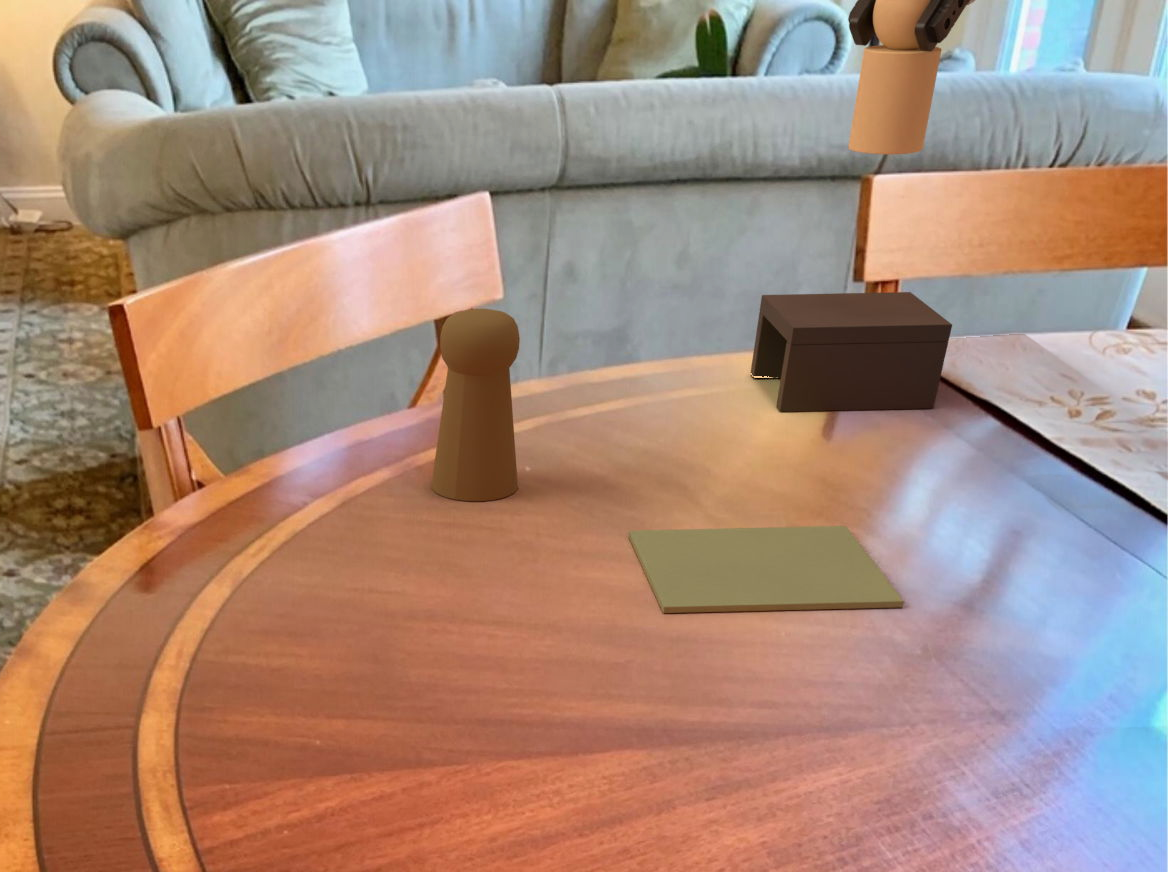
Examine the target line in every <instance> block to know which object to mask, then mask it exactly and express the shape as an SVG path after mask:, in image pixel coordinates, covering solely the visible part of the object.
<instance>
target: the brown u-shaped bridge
mask: <svg viewBox="0 0 1168 872" xmlns="http://www.w3.org/2000/svg"><path fill="white" fill-rule="evenodd" d="M952 328H953V324H952V323H951V322H950V321H948V320H947V319H946V318H945V317H943V316H942V315H941V314H939V312H937V311H936V310H934V309H933V308H932V307H930V306H929V305H928V304H927V303H925V302H924V301H922V300H921V299H920V297H918V296H916V295H915V294H914V293H912V292H911V291H900V292H899V291H896V292H895V291H894V292H891V291H890V292H847V293H846V292H844V293H841V292H839V293H798V294H797V293H795V294H794V293H791V294H762V295H761V298H760V304H759V312H758V320H757V327H756V333H755V338H754V339H755V340H754V346H753V354H752V360H751V366H750V373H752V375H753V376H762V377H764V376H767V377H768V376H769V377H781V378H780V381H779V388H778V394H777V400H776V405H775V408H776V409H777V410H778V411H779V412H781V413H788V412H789V413H790V412H793V413H794V412H831V411H833V412H834V411H838V412H839V411H875V410H876V411H877V410H879V411H880V410H881V411H883V410H886V411H887V410H927V409H928V410H929V409H934V408H935V403H936V398H937V395H938V389H939V386H940V381H941V378H942V373H943V369H944V364H945V359H946V355H947V350H948V347H949V341H950V338H951V332H952Z"/></svg>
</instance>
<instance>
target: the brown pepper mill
mask: <svg viewBox="0 0 1168 872" xmlns="http://www.w3.org/2000/svg"><path fill="white" fill-rule="evenodd" d="M439 337H440V338H439V341H440V342H439V349H440V354H441V358H442V360H443V362H444V364H445V365H446V367H447V372H446V379H445V387H444V393H443V401H442V406H441V407H442V408H441V414H440V420H439V428H438V435H437V441H436V449H435V457H434V464H433V471H432V477H431V484H430V485H431V487H430V488H431V490H432V491H433V492H434V493H436V494H438V495H439V496H441V497H444V498H447V499H451V500H455V501H465V502H487V501H495V500H501V499H503V498H507V497H509V496H512V495H513V494H515V493H516V492H517V491H518V489H519V483H518V482H519V481H518V470H517V455H516V442H515V441H516V440H515V427H514V414H513V399H512V383H511V372H510V369H511V367H512V365H514V363H515V361H516V359H517V357H518V354H519V350H520V338H521V337H520V333H519V327H518V324H517V322H516V320H515V318H514V317H512V316H511V315H510V314H508V313H506V312H505V311H501V310H497V309H491V308H469V309H464V310H459V311H456V312H454V313H452V314H451V315H449V317H447V318H446V319H445V321H444V323H443V325H442V326H441V331H440V335H439Z"/></svg>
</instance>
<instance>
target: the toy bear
mask: <svg viewBox="0 0 1168 872" xmlns="http://www.w3.org/2000/svg"><path fill="white" fill-rule="evenodd" d="M930 1H931V0H876V2H875V6H874V11H873V25H874V30H875V33H874V34H875V36H876V37H877V39H878V41H879V42H880V43H881V44H880V45H879V44H878V45H870V46H866V47H864V49H863V53H862V61H861V67H860V72H859V79H858V85H857V90H856V97H855V102H854V103H855V104H854V110H853V116H852V121H851V127H850V135H849V140H848V147H847V148H848V150H850V151H852V152H857V153H862V154H869V155H870V154H871V155H908V154H916V153H919V152H921V151H922V150H923V149H924V144H925V139H926V133H927V128H928V124H929V123H928V122H929V118H930V112H931V109H932V107H931V106H932V101H933V96H934V91H935V87H936V82H937V81H936V80H937V76H938V70H939V66H940V60H941V56H942V48H941V47H938V46H936V47H935V48H934V50H933V51H931V52H927V51H920V49H919V46H918V43H917V40H916V36H915V26H916V24H917V22H918V20H919V19H920V17H921V15H922V14H923V12H924V11H925V9H926V7H927V6H928V4H929V3H930Z"/></svg>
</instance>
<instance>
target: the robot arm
mask: <svg viewBox="0 0 1168 872" xmlns="http://www.w3.org/2000/svg"><path fill="white" fill-rule="evenodd" d="M975 1H976V0H931V1H930V3H929V4H928V6H927V7H926V9H925V11H924V12H923V14H922V15H921V17H920V19H919V20H918V22H917V24H916V26H915V36H916V40H917V43H918V46H919V49H920V51H927V52H931V51H933V50H934V48H935V47H937V45H938V44H941V43H942V42H943V41H944V40H945V39H946V38H947V37H948V36H949V34H950V32H951V31H952V29H953V27H954V26H955V24H957V21H958V20H959V18H960V16H961V15H962V13H963V12H964V10H965V9H966V8H967V6H969V5H971V4H973V3H974V2H975ZM875 2H876V0H857V1H856V2H855V3H854V5H853V7H852V8H851V10H850V11H849V14H848V19H847V21H848V28H849V32H850V34H851V38H852V40H853V43H854V44H855V45H856V46H862V47H863V46H864V47H865V46H866V47H867V45H868V44H869V43H870V41H871V39H873V37H874V36H875V34H876V33H875V30H874V25H873V11H874V6H875Z"/></svg>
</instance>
